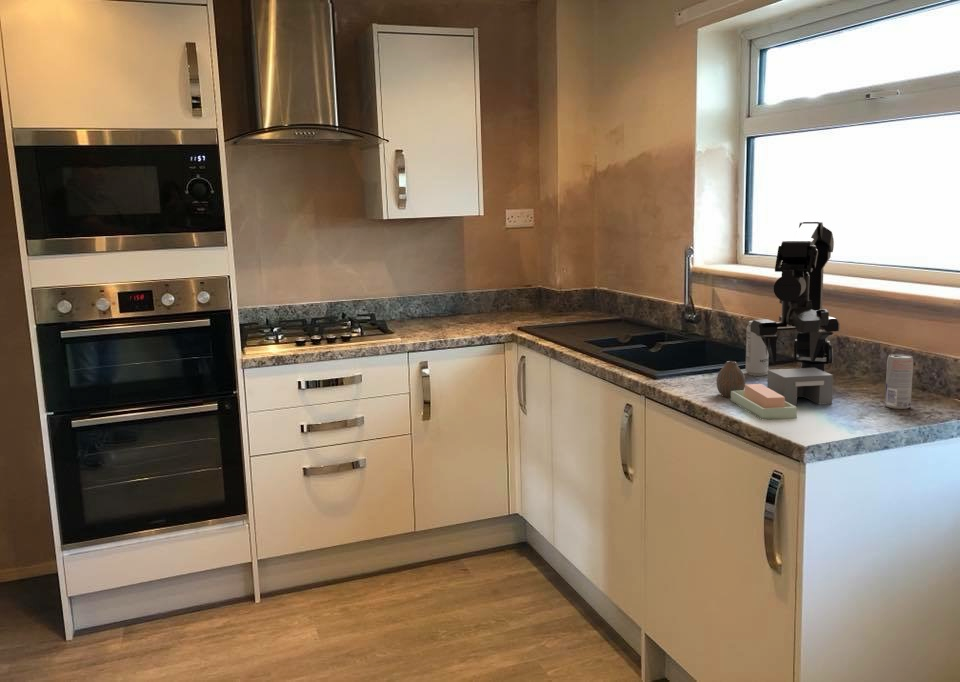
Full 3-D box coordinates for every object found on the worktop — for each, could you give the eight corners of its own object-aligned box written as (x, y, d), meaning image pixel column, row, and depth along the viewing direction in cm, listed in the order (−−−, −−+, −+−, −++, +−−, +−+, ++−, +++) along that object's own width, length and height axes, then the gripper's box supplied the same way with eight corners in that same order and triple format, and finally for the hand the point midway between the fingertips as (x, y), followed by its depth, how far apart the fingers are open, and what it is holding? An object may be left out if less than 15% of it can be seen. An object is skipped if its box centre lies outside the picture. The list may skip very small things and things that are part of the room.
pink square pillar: (744, 400, 196) (744, 384, 195) (760, 399, 196) (760, 383, 195) (767, 415, 182) (767, 397, 181) (784, 414, 182) (784, 397, 181)
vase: (710, 394, 205) (711, 361, 203) (732, 391, 207) (732, 358, 206) (728, 400, 198) (729, 365, 197) (750, 397, 201) (751, 362, 200)
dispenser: (767, 397, 200) (767, 369, 199) (813, 394, 201) (814, 367, 200) (784, 406, 191) (785, 377, 189) (833, 404, 192) (834, 375, 190)
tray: (730, 400, 198) (730, 390, 197) (761, 399, 198) (762, 389, 198) (762, 419, 180) (762, 408, 180) (796, 417, 181) (796, 407, 180)
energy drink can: (765, 377, 223) (766, 323, 220) (743, 375, 226) (744, 322, 223) (770, 372, 228) (771, 320, 225) (748, 371, 231) (749, 319, 228)
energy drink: (902, 403, 190) (905, 353, 188) (915, 408, 185) (918, 357, 183) (880, 404, 190) (882, 354, 188) (892, 409, 185) (895, 358, 183)
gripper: (771, 302, 174) (769, 372, 177) (853, 297, 176) (850, 367, 179) (750, 295, 185) (748, 361, 188) (828, 291, 187) (825, 357, 190)
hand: (793, 362), depth 186 cm, fingers open, 9 cm apart
